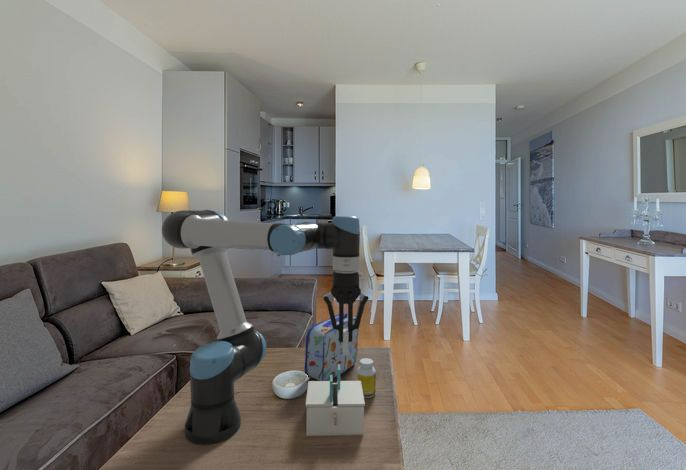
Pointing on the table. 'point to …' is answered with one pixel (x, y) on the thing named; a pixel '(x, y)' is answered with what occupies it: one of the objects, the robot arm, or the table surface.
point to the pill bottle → (367, 377)
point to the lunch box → (328, 350)
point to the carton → (335, 419)
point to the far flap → (349, 392)
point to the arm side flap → (320, 393)
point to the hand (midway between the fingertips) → (345, 352)
